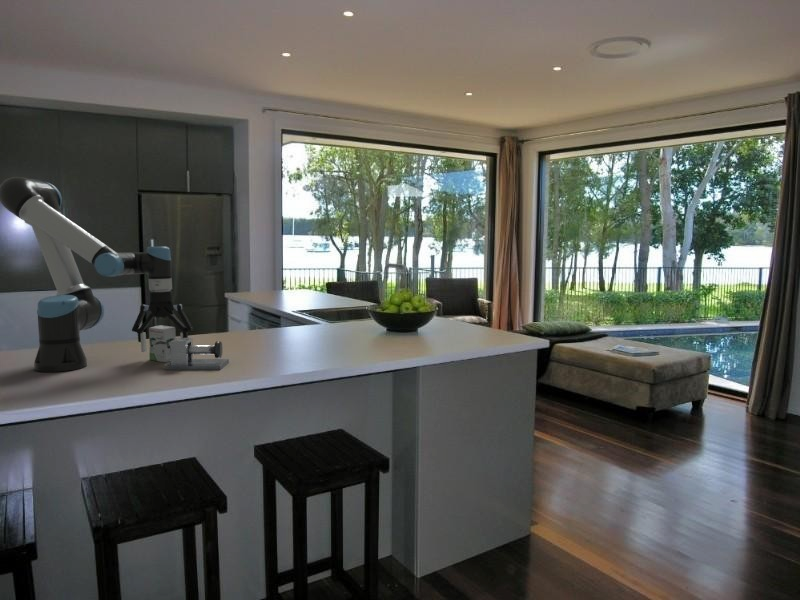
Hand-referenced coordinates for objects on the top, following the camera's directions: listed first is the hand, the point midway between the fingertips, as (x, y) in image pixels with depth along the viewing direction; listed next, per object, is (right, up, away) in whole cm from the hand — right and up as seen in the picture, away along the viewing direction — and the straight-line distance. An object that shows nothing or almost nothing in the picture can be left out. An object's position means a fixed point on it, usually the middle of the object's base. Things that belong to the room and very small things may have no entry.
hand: (163, 351), depth 211 cm
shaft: (+15, -2, -10) cm, 18 cm away
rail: (+15, -4, -10) cm, 19 cm away
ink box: (0, -3, 0) cm, 3 cm away
